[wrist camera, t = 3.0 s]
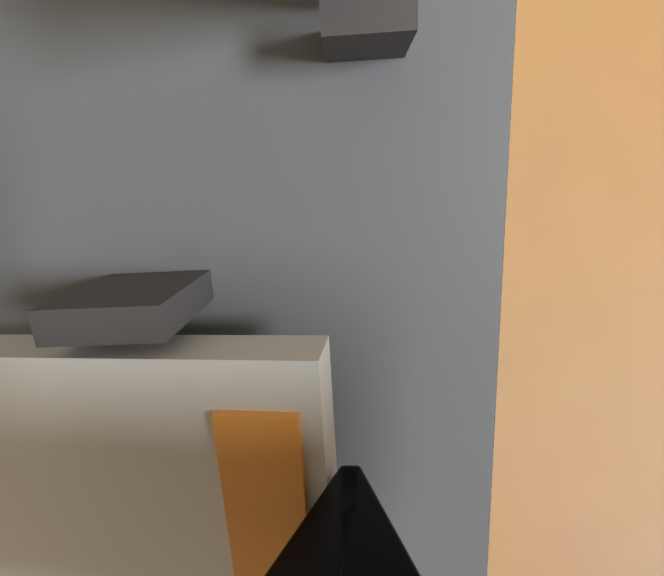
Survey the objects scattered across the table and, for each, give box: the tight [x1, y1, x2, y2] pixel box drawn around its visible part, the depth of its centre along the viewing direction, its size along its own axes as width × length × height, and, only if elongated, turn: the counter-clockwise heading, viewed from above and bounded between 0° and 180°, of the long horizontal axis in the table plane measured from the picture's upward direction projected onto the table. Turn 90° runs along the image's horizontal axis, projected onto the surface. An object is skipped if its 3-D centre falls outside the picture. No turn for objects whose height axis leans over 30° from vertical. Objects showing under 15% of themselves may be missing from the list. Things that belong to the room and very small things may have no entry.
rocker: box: [0, 334, 337, 576], centre depth 9 cm, size 8×6×1 cm
